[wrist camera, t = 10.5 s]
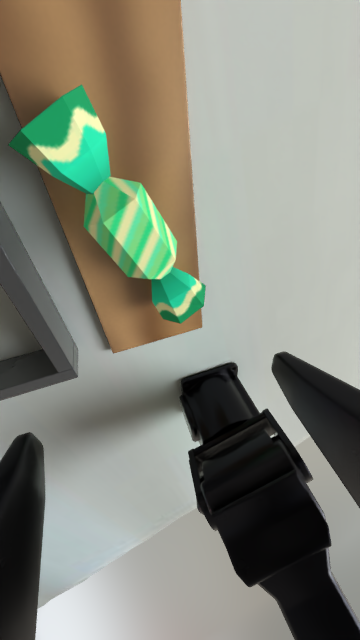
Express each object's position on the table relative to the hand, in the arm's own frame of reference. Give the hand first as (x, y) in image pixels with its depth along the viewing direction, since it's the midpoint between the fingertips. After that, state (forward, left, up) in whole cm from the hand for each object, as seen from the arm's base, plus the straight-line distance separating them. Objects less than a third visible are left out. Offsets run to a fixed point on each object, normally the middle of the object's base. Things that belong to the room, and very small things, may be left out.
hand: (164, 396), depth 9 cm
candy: (-1, -3, -11) cm, 11 cm away
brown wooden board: (-1, -3, -11) cm, 11 cm away
